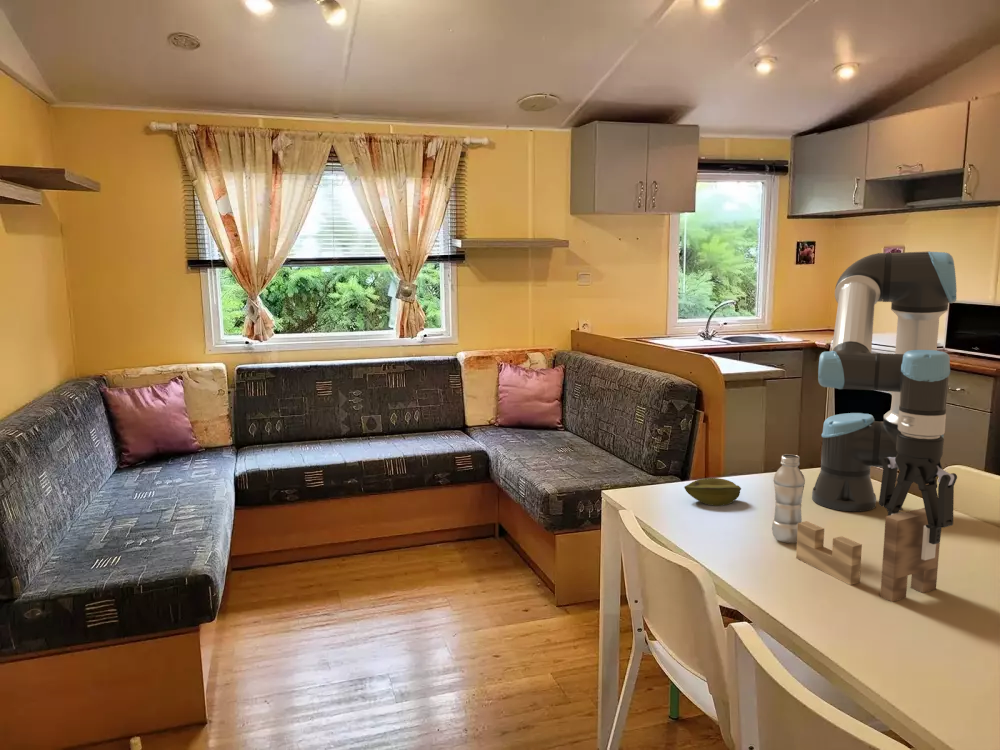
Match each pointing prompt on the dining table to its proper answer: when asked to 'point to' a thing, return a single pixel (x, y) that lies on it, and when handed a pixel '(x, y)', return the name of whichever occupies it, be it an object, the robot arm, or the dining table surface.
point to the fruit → (713, 491)
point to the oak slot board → (829, 553)
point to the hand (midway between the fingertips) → (911, 551)
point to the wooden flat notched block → (906, 556)
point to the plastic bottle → (788, 499)
